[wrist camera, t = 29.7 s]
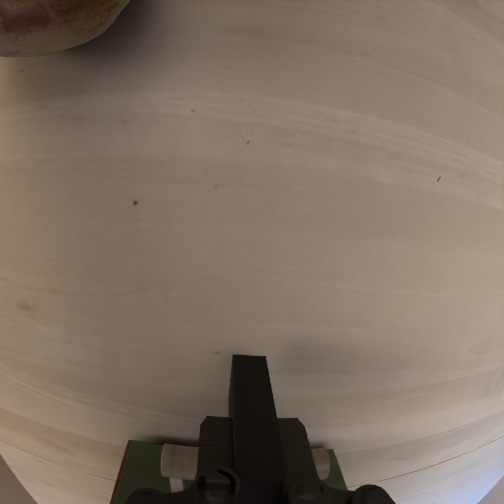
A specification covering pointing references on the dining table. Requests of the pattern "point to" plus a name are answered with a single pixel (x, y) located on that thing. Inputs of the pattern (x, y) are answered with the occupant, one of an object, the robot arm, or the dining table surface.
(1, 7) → the fruit
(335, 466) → the drawer
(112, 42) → the dining table surface
